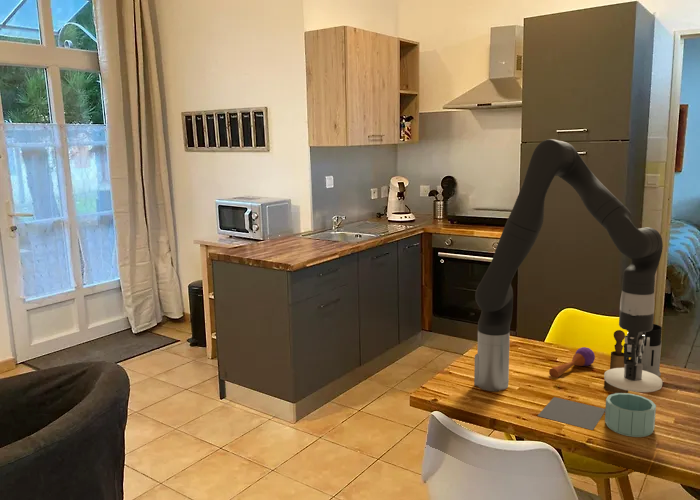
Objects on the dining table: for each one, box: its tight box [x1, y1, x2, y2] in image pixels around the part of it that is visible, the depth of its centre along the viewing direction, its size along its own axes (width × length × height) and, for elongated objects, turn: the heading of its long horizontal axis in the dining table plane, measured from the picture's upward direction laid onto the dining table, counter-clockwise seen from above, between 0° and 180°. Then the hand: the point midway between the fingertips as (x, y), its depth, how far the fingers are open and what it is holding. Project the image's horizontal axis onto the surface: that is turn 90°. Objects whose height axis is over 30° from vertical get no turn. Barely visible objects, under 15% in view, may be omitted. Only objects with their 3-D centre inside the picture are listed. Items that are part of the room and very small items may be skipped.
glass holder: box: [640, 323, 663, 377], centre depth 177 cm, size 9×14×15 cm, turn 154°
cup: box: [604, 392, 657, 438], centre depth 146 cm, size 11×11×7 cm
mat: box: [537, 396, 606, 431], centre depth 154 cm, size 14×14×1 cm
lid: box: [603, 362, 663, 393], centre depth 144 cm, size 13×13×4 cm
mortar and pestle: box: [603, 329, 629, 394], centre depth 167 cm, size 7×6×18 cm
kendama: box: [548, 346, 596, 378], centre depth 184 cm, size 6×6×20 cm
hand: (632, 375), depth 144 cm, fingers closed on lid, 4 cm apart
